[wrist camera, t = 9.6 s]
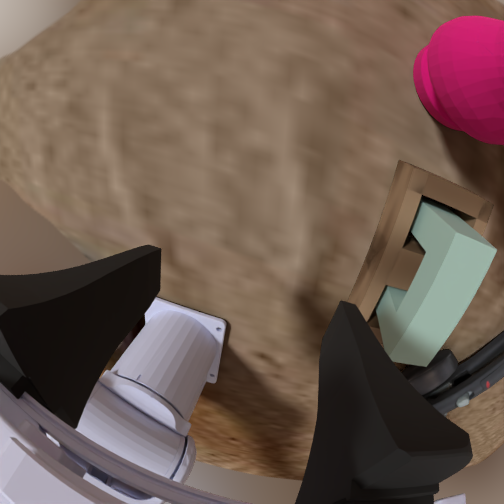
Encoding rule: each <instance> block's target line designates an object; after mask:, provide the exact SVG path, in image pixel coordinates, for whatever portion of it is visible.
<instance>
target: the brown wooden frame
mask: <svg viewBox="0 0 504 504" xmlns="http://www.w3.org/2000/svg"><path fill="white" fill-rule="evenodd" d="M422 195H424V196H427V197H429V198H432V199H434V200H437V201H439V202H441V203H444V204H446V205H448V206H451V207H453V208H455V209H456V210H455V212H454V213H455V214H456V215H457V216H458V217H460V218H461V219H462V220H463V221H465V222H466V223H467V224H468V225H469V226H471V227H472V228H473V229H474V230H475V231H477V232H478V233H479V234H480V235H481V236H482V235H483V233H484V230H485V228H486V225H487V223H488V220H489V217H490V215H491V212H492V209H493V206H494V205H493V204H492V203H490V202H488V201H487V200H485V199H483V198H482V197H480V196H478V195H477V194H475V193H473V192H471V191H469V190H467V189H465V188H463V187H461V186H459V185H457V184H455V183H453V182H451V181H448V180H446V179H444V178H442V177H440V176H437V175H435V174H433V173H431V172H428V171H426V170H423V169H421V168H419V167H416V166H414V165H411V164H409V163H406V162H404V161H401V160H399V161H398V165H397V168H396V172H395V175H394V179H393V182H392V185H391V188H390V192H389V195H388V198H387V201H386V204H385V207H384V210H383V213H382V216H381V219H380V221H379V224H378V227H377V230H376V232H375V235H374V238H373V241H372V243H371V246H370V248H369V251H368V254H367V256H366V259H365V261H364V264H363V266H362V268H361V271H360V273H359V276H358V278H357V280H356V283H355V285H354V287H353V290H352V292H351V294H350V296H349V299H348V301H347V302H349V303H352V304H356V306H357V307H358V309H359V310H360V312H361V314H362V315H363V317H364V318H365V320H366V322H367V323H368V325H369V327H370V328H371V330H372V331H373V333H374V335H375V336H376V338H377V339H378V341H379V343H380V344H383V340H382V335H381V331H380V326H379V321H378V317H377V312H376V308H375V306H376V304H377V302H378V300H379V298H380V296H381V294H382V292H383V290H384V287H385V285H388V286H391V287H395V288H399V289H402V290H406V291H408V289H409V287H410V285H411V283H412V281H413V279H414V277H415V275H416V273H417V271H418V269H419V267H420V265H421V262H422V260H423V258H424V256H425V254H426V251H425V250H424V248H423V247H422V246H421V244H420V243H419V242H418V240H417V239H416V238H414V237H411V236H408V232H409V230H410V227H411V224H412V222H413V219H414V216H415V214H416V211H417V208H418V205H419V202H420V199H421V196H422Z"/></svg>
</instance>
